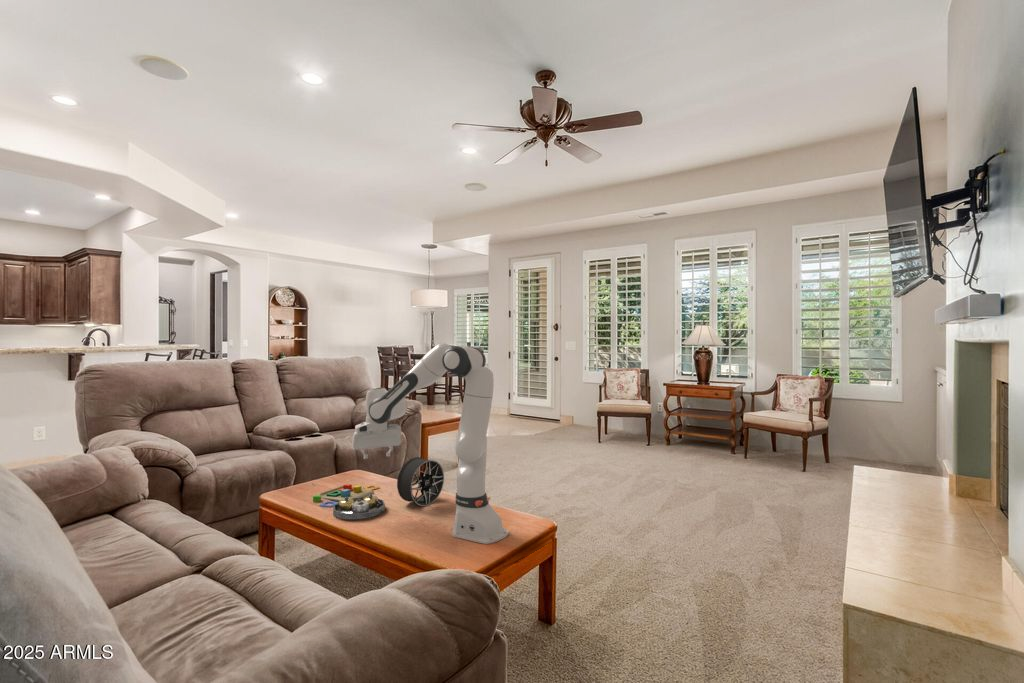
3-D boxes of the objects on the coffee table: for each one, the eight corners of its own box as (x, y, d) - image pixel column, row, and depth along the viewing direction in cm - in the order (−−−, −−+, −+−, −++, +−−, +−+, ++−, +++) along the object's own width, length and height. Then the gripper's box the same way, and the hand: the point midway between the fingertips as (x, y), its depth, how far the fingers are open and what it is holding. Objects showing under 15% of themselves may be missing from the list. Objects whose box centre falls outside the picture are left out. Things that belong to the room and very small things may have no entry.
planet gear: (372, 512, 205) (372, 503, 205) (358, 517, 200) (358, 507, 200) (362, 509, 209) (362, 499, 209) (348, 513, 204) (349, 503, 204)
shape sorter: (359, 484, 251) (359, 475, 251) (387, 490, 242) (387, 480, 241) (303, 503, 221) (303, 493, 221) (332, 510, 212) (332, 500, 212)
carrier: (394, 510, 212) (394, 497, 212) (352, 524, 195) (352, 510, 195) (365, 499, 225) (365, 487, 225) (323, 512, 208) (323, 499, 208)
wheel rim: (410, 511, 211) (411, 465, 211) (396, 506, 216) (397, 461, 216) (443, 499, 227) (444, 456, 227) (430, 495, 232) (430, 453, 232)
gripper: (399, 422, 217) (400, 453, 218) (351, 426, 209) (351, 458, 210) (402, 424, 212) (402, 456, 212) (352, 428, 204) (353, 462, 204)
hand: (377, 457), depth 211 cm, fingers open, 8 cm apart
